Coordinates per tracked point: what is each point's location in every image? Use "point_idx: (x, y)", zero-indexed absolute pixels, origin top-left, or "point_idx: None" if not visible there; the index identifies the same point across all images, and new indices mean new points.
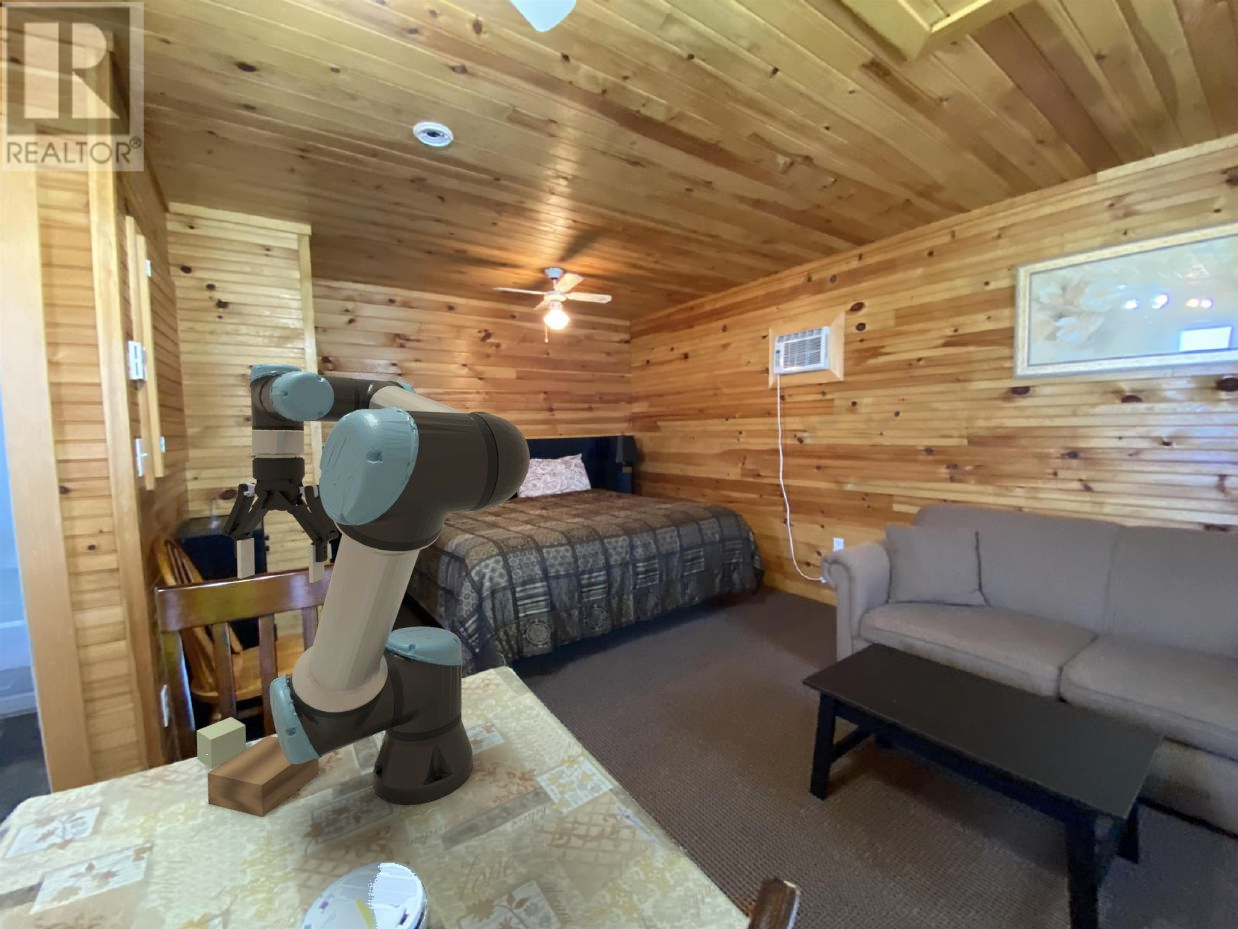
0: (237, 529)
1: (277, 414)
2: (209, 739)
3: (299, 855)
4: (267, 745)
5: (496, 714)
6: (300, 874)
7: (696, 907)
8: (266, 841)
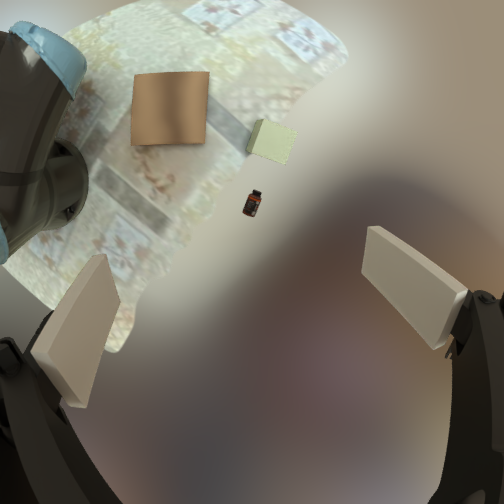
0: (501, 322)
1: None
2: (267, 120)
3: None
4: (188, 127)
5: (58, 284)
6: None
7: None
8: (116, 64)
